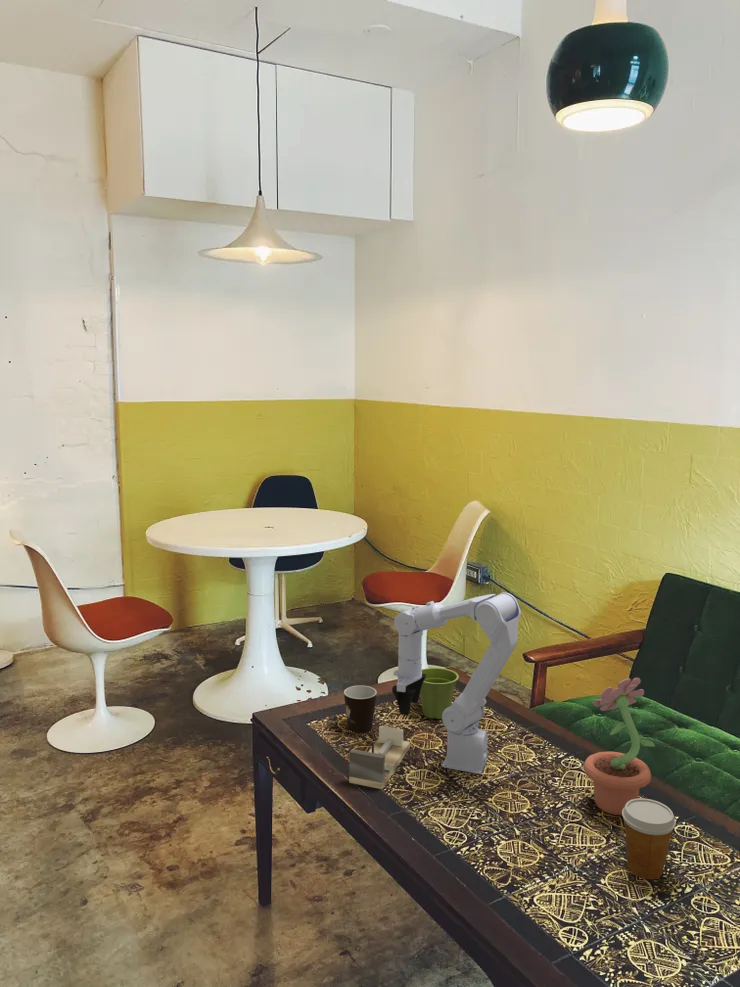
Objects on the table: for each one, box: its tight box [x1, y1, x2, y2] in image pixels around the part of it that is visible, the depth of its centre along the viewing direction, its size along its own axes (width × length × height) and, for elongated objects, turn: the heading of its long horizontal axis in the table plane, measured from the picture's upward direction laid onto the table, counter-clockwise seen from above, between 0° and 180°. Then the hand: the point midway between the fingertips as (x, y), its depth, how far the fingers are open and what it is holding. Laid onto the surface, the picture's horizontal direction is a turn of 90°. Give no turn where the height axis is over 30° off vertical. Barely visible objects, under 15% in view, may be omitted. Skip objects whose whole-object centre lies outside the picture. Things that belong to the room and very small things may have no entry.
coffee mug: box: [343, 685, 378, 734], centre depth 205 cm, size 12×9×10 cm
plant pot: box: [419, 667, 460, 720], centre depth 212 cm, size 12×12×11 cm
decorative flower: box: [583, 677, 656, 816], centre depth 166 cm, size 15×14×30 cm
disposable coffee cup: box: [621, 797, 677, 880], centre depth 146 cm, size 10×10×12 cm
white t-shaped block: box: [378, 725, 404, 755], centre depth 188 cm, size 8×6×4 cm
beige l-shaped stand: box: [348, 737, 411, 790], centre depth 184 cm, size 21×8×8 cm, turn 160°
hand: (409, 708), depth 194 cm, fingers open, 7 cm apart
